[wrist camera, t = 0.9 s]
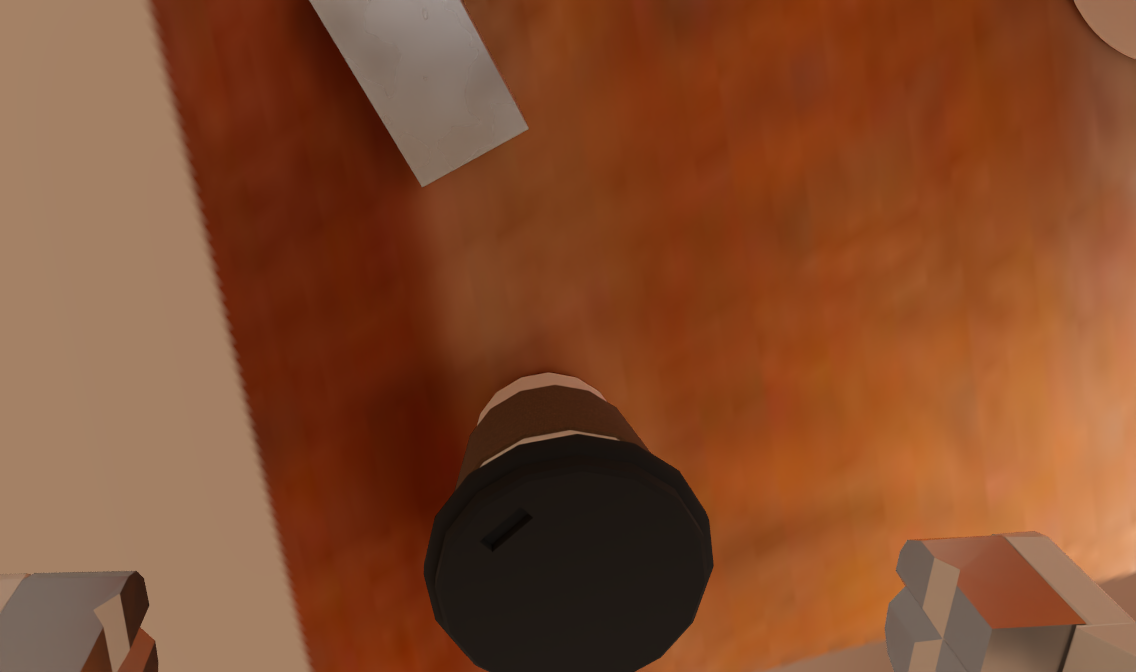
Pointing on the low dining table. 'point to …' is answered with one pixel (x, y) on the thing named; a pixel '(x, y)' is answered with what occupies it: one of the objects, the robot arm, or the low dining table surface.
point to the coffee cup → (565, 538)
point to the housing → (426, 78)
